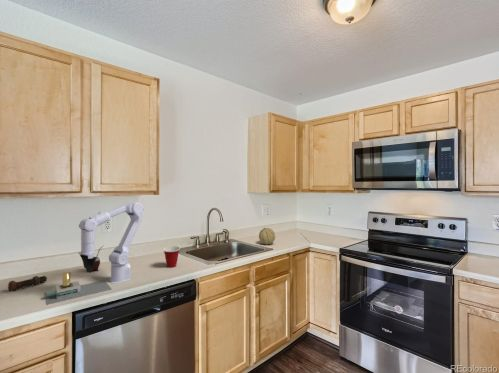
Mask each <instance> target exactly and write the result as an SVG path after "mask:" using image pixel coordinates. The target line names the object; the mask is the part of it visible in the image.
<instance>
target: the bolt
mask: <svg viewBox="0 0 499 373" xmlns="http://www.w3.org/2000/svg"><path fill="white" fill-rule="evenodd" d="M47 279H48V278H47V276H46V275H42V276H38V275H35V276H33V277H31V278H30V279H25V280H21V281H15V280H10V281H9V282H8V283H7V284H8V285H7V289H8V292H10V293H11V292H15V291H17V290H19V289H22V288H25V287H29V286H35V287H36V286H39V285H40V284H42V283H45V282H47Z"/></svg>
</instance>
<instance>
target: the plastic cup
mask: <svg viewBox="0 0 499 373" xmlns="http://www.w3.org/2000/svg"><path fill="white" fill-rule="evenodd" d="M162 250H163V253H164V257H165V263H166V267H167V268H175V267H176V268H177V264H178V259H179V258H178V257H179V252H180V250H181V247H180V246H177V245H170V246H165V247H164V248H162Z"/></svg>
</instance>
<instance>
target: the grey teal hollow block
mask: <svg viewBox="0 0 499 373" xmlns="http://www.w3.org/2000/svg"><path fill="white" fill-rule="evenodd" d="M80 285H81V283H80V281H78V280H77V281H72V282H71V281H70V287H68V288H63V283H61V284H57V285H54V286H55V290H51V291H50V290H49V291H46V292H45V293H46V295H47V296H51V295H55V294H56V298H57V299H60V298H64V297H68V296H73V295H77V294H81V286H80Z"/></svg>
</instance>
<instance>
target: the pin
mask: <svg viewBox="0 0 499 373" xmlns="http://www.w3.org/2000/svg"><path fill="white" fill-rule="evenodd" d="M70 283H71V272H70V271H66V272H63V273H62V284H63V288H68V287H70Z"/></svg>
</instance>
